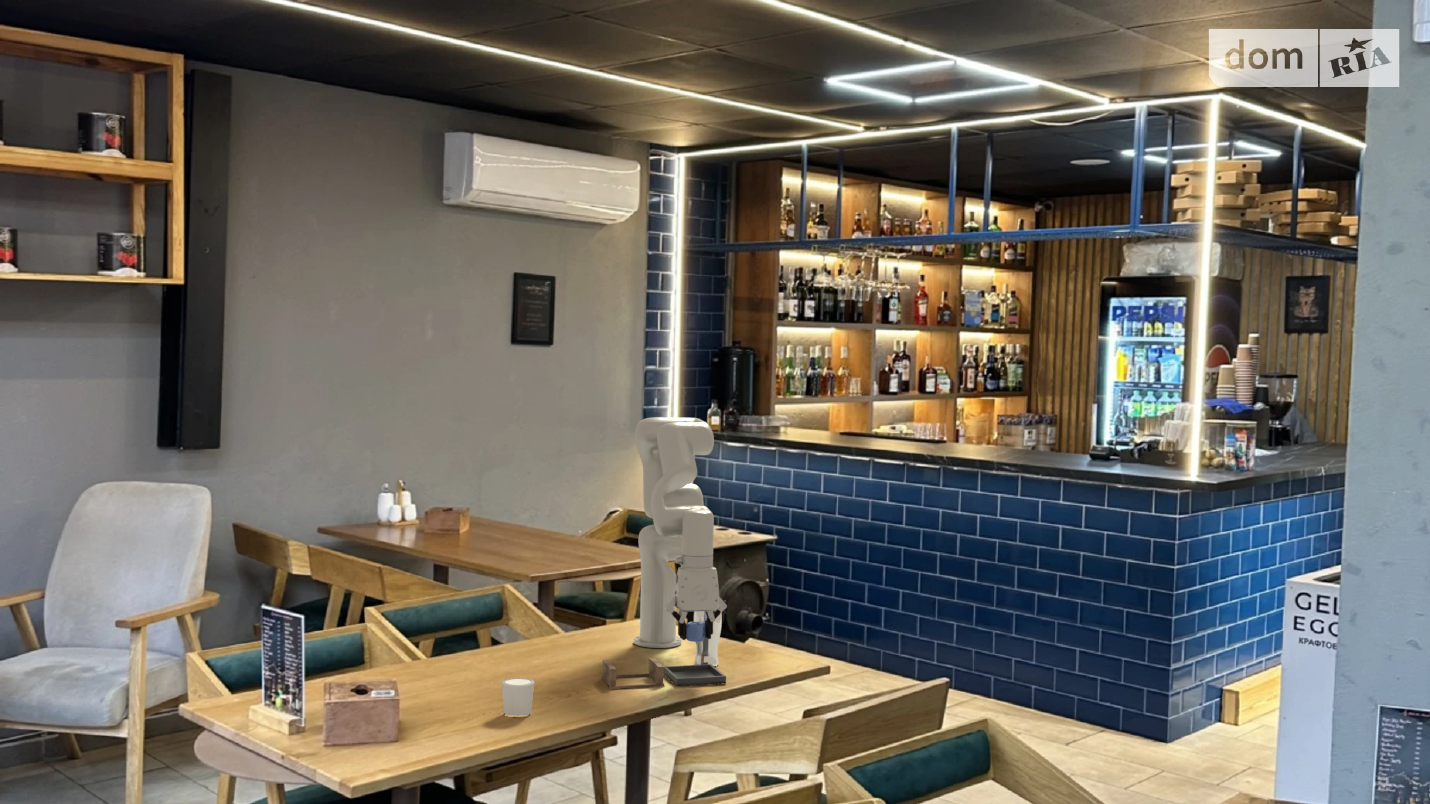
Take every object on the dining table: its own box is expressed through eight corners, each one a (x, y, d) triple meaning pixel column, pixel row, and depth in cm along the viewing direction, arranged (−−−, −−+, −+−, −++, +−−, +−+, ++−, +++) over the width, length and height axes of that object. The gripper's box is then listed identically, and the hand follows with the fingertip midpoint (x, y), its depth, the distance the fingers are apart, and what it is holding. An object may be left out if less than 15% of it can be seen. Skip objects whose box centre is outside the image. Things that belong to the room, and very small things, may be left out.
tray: (663, 674, 311) (663, 666, 311) (710, 671, 315) (711, 664, 315) (676, 686, 300) (676, 678, 300) (726, 683, 303) (726, 676, 303)
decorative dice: (705, 638, 308) (706, 622, 308) (701, 642, 304) (701, 625, 304) (689, 637, 309) (690, 621, 309) (684, 641, 305) (685, 624, 305)
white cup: (519, 720, 269) (519, 687, 269) (494, 715, 273) (494, 682, 272) (540, 713, 275) (541, 680, 275) (515, 708, 279) (516, 675, 278)
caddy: (601, 677, 306) (601, 659, 306) (652, 675, 310) (652, 656, 310) (611, 689, 296) (612, 670, 296) (664, 686, 299) (664, 667, 299)
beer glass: (721, 662, 325) (723, 602, 324) (719, 668, 318) (720, 607, 317) (694, 660, 325) (695, 601, 325) (690, 667, 319) (692, 606, 318)
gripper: (666, 565, 300) (664, 643, 301) (736, 563, 305) (734, 640, 306) (657, 560, 307) (656, 636, 308) (726, 558, 312) (725, 633, 313)
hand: (695, 637), depth 307 cm, fingers closed on decorative dice, 5 cm apart
